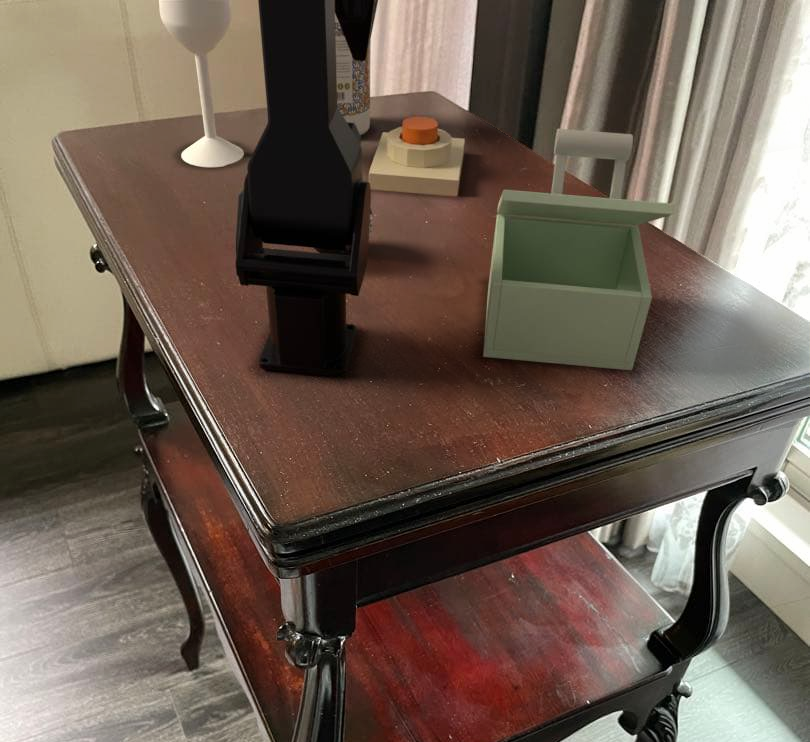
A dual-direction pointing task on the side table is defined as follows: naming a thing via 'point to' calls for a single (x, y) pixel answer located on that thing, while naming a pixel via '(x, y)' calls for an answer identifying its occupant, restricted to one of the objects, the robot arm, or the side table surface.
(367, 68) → the bath foam
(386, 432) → the side table surface
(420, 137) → the button
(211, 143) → the champagne flute
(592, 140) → the compartment lid
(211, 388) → the side table surface
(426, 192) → the control block
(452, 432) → the side table surface
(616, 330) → the compartment
